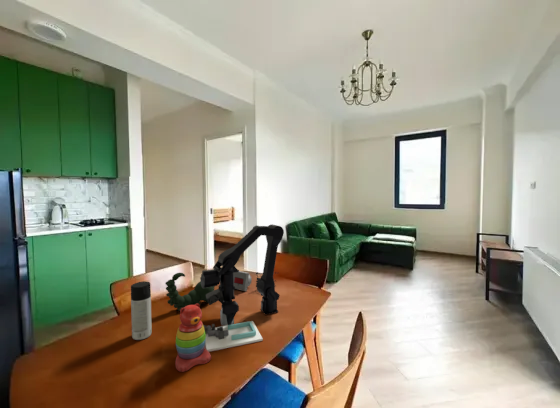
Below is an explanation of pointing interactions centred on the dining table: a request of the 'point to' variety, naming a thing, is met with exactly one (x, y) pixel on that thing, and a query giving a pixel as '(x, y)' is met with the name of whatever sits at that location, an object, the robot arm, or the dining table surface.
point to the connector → (224, 319)
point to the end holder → (242, 335)
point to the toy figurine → (188, 299)
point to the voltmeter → (243, 280)
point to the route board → (228, 337)
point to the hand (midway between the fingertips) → (227, 320)
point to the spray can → (141, 310)
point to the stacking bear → (191, 339)
